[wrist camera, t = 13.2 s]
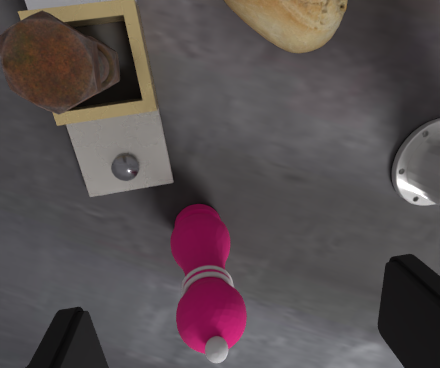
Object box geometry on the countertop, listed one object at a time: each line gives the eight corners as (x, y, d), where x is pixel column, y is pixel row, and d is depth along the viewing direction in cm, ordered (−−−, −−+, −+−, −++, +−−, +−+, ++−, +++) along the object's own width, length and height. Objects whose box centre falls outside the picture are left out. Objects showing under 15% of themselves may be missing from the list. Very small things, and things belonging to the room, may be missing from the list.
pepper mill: (201, 255, 41) (222, 404, 23) (159, 229, 39) (146, 373, 21) (234, 219, 40) (285, 347, 22) (194, 189, 38) (212, 306, 19)
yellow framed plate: (114, -111, 26) (106, -137, 23) (173, 179, 37) (173, 190, 33) (-4, -102, 25) (-30, -126, 22) (92, 193, 36) (84, 205, 33)
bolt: (67, 71, 31) (-20, 76, 17) (87, 26, 29) (11, -9, 16) (119, 101, 32) (79, 127, 19) (140, 60, 31) (114, 55, 17)
